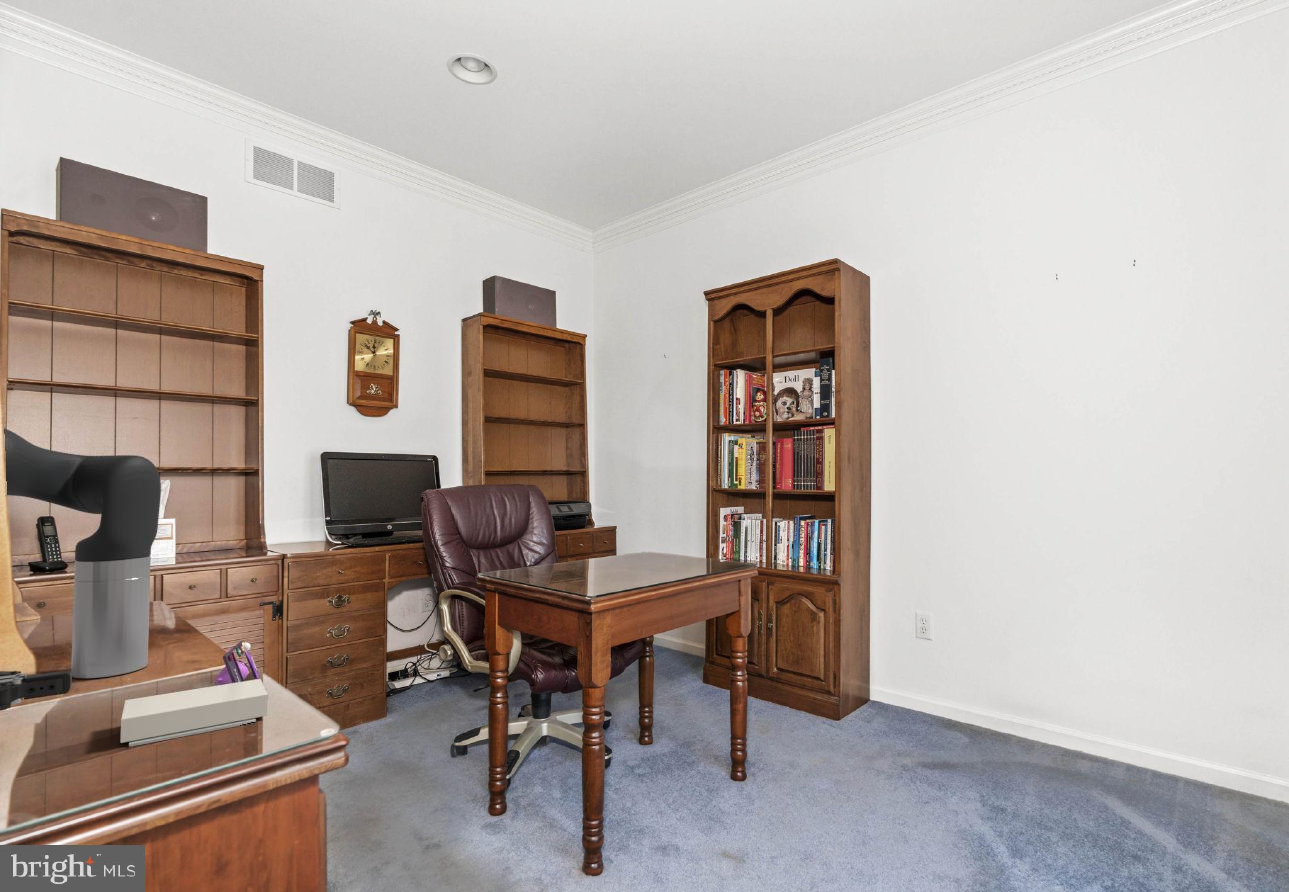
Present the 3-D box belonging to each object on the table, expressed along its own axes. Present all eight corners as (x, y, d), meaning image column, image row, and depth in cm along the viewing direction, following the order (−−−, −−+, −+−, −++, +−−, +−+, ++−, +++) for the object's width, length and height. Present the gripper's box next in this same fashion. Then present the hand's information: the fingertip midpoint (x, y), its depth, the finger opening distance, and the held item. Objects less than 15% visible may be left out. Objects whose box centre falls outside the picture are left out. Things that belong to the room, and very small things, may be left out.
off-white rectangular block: (125, 700, 79) (260, 678, 87) (124, 722, 79) (260, 699, 87) (121, 719, 72) (267, 694, 80) (120, 744, 72) (267, 716, 80)
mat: (133, 722, 79) (133, 720, 79) (248, 702, 86) (248, 700, 86) (128, 746, 72) (129, 744, 72) (255, 722, 79) (255, 720, 79)
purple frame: (231, 653, 86) (249, 637, 94) (187, 670, 84) (209, 653, 93) (250, 700, 86) (266, 681, 95) (206, 719, 85) (226, 697, 93)
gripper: (-198, 691, 58) (65, 659, 68) (-141, 659, 68) (78, 635, 78) (-204, 780, 57) (62, 734, 67) (-146, 733, 68) (76, 700, 78)
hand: (70, 681), depth 73 cm, fingers closed
